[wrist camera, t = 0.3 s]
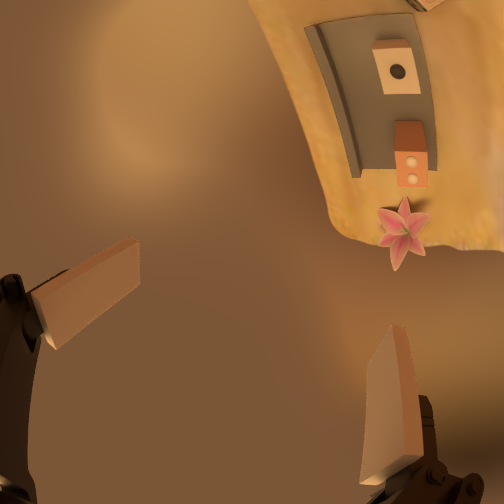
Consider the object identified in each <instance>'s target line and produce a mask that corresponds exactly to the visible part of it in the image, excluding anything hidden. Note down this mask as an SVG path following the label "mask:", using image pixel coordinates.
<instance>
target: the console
mask: <svg viewBox="0 0 504 504" xmlns="http://www.w3.org/2000/svg"><path fill="white" fill-rule="evenodd" d="M304 30H305V33H306V35H307V37H308V40H309V42H310V44H311V47H312V49H313V52H314V54H315V57H316V59H317V62H318V65H319V67H320V70H321V73H322V75H323V78H324V81H325V84H326V87H327V90H328V93H329V96H330V99H331V102H332V105H333V108H334V111H335V114H336V118H337V121H338V124H339V128H340V131H341V135H342V139H343V142H344V146H345V150H346V154H347V158H348V162H349V166H350V170H351V175H352V178H361V174H362V169H396V160H395V152H394V149H395V121H422V125H423V130H424V136H425V141H426V147H427V157H428V170H432V171H437V149H436V132H435V120H434V110H433V102H432V95H431V88H430V82H429V76H428V71H427V66H426V61H425V57H424V53H423V48H422V44H421V41H420V37H419V33H418V30H417V26H416V23H415V20H414V17H413V14H412V13H409V14H385V15H373V16H364V17H356V18H349V19H342V20H337V21H331V22H326V23H321V24H316V25H312V26H308V27H305V28H304ZM387 39H406V41H407V42H408V44H409V45H410V47H411V49H412V53H413V57H414V61H415V66H416V70H417V75H418V80H419V86H420V91H421V94H384V92H383V88H382V83H381V79H380V76H379V72H378V68H377V65H376V61H375V58H374V54H373V51H372V48H373V46H374V43H375V40H387Z"/></svg>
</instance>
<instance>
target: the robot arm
mask: <svg viewBox="0 0 504 504" xmlns="http://www.w3.org/2000/svg"><path fill="white" fill-rule="evenodd" d="M139 285H140V270H139V241H137V240H134V239H132V238H127V239H125V240H123V241H121V242H119V243H117V244H115V245H113V246H111V247H110V248H108V249H106V250H104V251H102V252H100V253H98V254H97V255H95V256H93V257H91V258H89V259H87V260H86V261H84V262H82V263H80V264H78V265H77V266H75V267H73V268H71V269H67V270H64V271H62V272H60V273H59V274H57V275H56V276H55V277H52V278H50V279H49V280H47V281H45V282H43V283H42V284H40V285H38V286H37V287H35V288H33V289H32V290H30V291H29V292H27V293H25V290H24V286H23V282H22V279H21V276H20V275H18V274H9V275H6V276H4V277H3V278H1V279H0V486H1V487H2V491H0V504H37V497H36V488H35V484H34V481H33V479H32V477H31V475H30V473H29V471H28V461H27V446H28V445H27V444H28V422H29V411H30V401H31V393H32V386H33V380H34V374H35V368H36V363H37V358H38V353H39V349H40V344H41V336H40V335H41V334H42V333H43V332H44V334H45V337H46V339H47V342H48V343H49V344H50V345H51V346H53V347H54V348H55V349H56V350H57V349H58V348H60V347H61V346H62V345H63V344H65V343H66V342H67V341H68V340H69V339H70V338H72V337H73V336H74V335H75V334H77V333H78V332H79V331H81V330H82V329H83V328H84V327H86V326H87V325H88V324H89V323H91V322H92V321H93V320H94V319H96V318H97V317H98V316H100V315H101V314H102V313H103V312H105V311H106V310H107V309H109V308H110V307H111V306H112V305H114V304H115V303H116V302H118V301H119V300H120V299H122V298H123V297H124V296H126V295H127V294H128V293H129V292H131V291H132V290H133V289H135V288H136V287H137V286H139ZM363 449H364V450H363V458H362V466H361V474H360V481H359V484H368V485H378V484H380V483H382V482H383V481H385V480H386V486H385V488H383V489H381V490H379V491H377V492H375V493H374V494H372V495H370V496H371V497H373V498H372V499H371V500H370V501H369V502H368V503H367V504H480V501H481V498H482V495H483V491H484V482H483V479H482V477H481V476H480V475H479V474H477V473H471V474H469V475H467V476H465V477H464V478H459V477H456V476H453V475H450V474H448V471H447V468H446V466H445V465H444V464H443V463H442V462H440V461H438V458H437V446H436V434H435V428H434V419H433V411H432V406H431V404H430V402H429V400H428V398H427V396H423V395H418V390H417V384H416V378H415V372H414V366H413V361H412V356H411V351H410V346H409V342H408V337H407V333H406V329H405V328H404V327H401V326H397V325H394V324H391V326H390V328H389V329H388V331H387V333H386V335H385V336H384V338H383V340H382V341H381V343H380V345H379V347H378V348H377V350H376V352H375V353H374V355H373V356H372V358H371V359H370V361H369V362H368V364H367V403H366V423H365V438H364V448H363Z"/></svg>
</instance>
